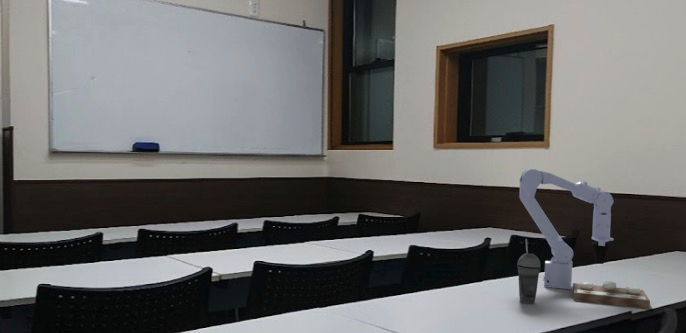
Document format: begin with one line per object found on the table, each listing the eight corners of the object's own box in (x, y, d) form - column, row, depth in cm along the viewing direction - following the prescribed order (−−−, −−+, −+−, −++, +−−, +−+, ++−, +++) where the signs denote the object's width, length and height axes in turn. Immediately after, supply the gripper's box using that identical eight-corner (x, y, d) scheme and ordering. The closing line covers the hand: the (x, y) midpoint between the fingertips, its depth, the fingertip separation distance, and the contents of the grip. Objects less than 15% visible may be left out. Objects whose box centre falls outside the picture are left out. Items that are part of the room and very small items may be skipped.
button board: (573, 300, 193) (574, 291, 193) (572, 290, 209) (573, 282, 208) (649, 308, 186) (649, 299, 186) (642, 297, 201) (643, 289, 201)
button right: (626, 293, 194) (626, 288, 194) (625, 291, 197) (625, 286, 197) (640, 294, 192) (640, 290, 192) (638, 292, 196) (638, 287, 196)
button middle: (603, 288, 196) (603, 283, 196) (602, 285, 200) (602, 281, 200) (616, 289, 195) (616, 284, 195) (615, 287, 198) (615, 282, 198)
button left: (580, 288, 198) (580, 284, 198) (579, 286, 202) (580, 281, 202) (593, 290, 197) (593, 285, 197) (592, 287, 201) (592, 282, 201)
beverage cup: (536, 306, 184) (538, 241, 183) (512, 302, 188) (515, 239, 187) (541, 301, 190) (544, 239, 189) (518, 298, 194) (521, 236, 193)
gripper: (615, 228, 202) (613, 268, 203) (612, 223, 216) (611, 261, 216) (592, 226, 205) (591, 266, 205) (591, 222, 218) (590, 259, 219)
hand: (600, 263), depth 211 cm, fingers closed
